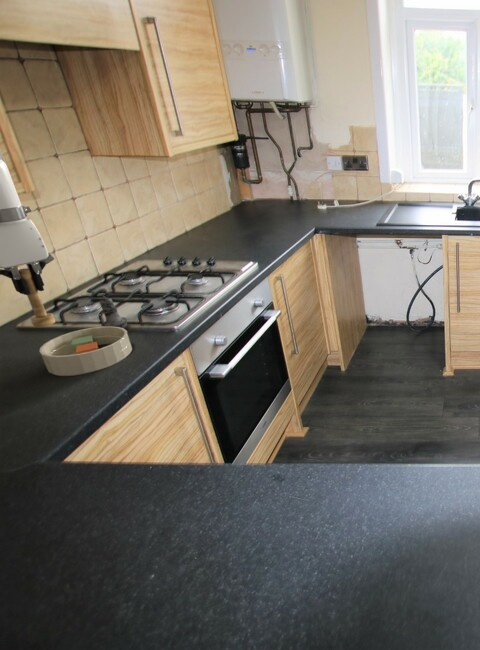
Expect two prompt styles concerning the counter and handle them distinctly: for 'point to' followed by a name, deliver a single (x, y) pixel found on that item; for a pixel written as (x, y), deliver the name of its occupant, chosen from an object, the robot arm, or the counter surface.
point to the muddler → (36, 302)
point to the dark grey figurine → (112, 314)
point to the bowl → (68, 363)
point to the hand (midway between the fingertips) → (31, 291)
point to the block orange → (86, 348)
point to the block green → (81, 341)
